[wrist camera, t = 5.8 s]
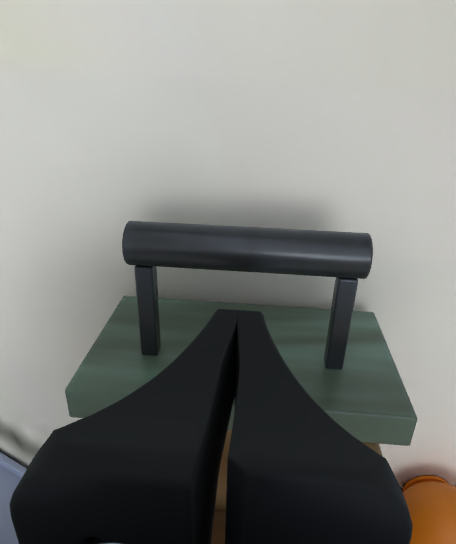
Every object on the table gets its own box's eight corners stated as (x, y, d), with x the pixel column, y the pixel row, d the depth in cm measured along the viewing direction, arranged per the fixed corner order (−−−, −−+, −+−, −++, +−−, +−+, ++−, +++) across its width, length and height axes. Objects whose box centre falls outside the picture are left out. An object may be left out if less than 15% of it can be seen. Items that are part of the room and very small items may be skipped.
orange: (363, 488, 24) (384, 585, 20) (436, 447, 23) (477, 544, 18) (417, 530, 26) (449, 631, 21) (490, 494, 24) (541, 596, 19)
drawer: (113, 187, 17) (36, 247, 12) (396, 200, 16) (462, 272, 11) (142, 494, 25) (106, 617, 20) (333, 513, 24) (352, 646, 19)
